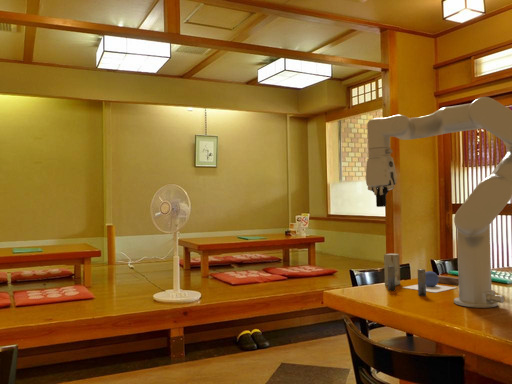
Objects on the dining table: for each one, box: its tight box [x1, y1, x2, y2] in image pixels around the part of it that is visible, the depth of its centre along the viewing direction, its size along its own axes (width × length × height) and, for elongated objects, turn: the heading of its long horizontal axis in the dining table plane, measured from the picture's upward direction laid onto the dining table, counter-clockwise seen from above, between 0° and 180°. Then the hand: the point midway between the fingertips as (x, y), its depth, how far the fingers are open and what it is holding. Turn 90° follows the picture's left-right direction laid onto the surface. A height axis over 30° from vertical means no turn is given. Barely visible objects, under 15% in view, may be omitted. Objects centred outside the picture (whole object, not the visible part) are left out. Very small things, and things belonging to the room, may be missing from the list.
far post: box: [387, 266, 396, 292], centre depth 176 cm, size 3×3×9 cm
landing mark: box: [402, 283, 457, 294], centre depth 178 cm, size 14×14×1 cm
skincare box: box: [383, 253, 401, 287], centre depth 188 cm, size 6×4×12 cm
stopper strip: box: [437, 274, 459, 286], centre depth 187 cm, size 16×2×2 cm, turn 36°
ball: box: [425, 270, 439, 287], centre depth 181 cm, size 6×6×6 cm
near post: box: [417, 268, 427, 297], centre depth 165 cm, size 3×3×9 cm
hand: (381, 206), depth 163 cm, fingers closed
